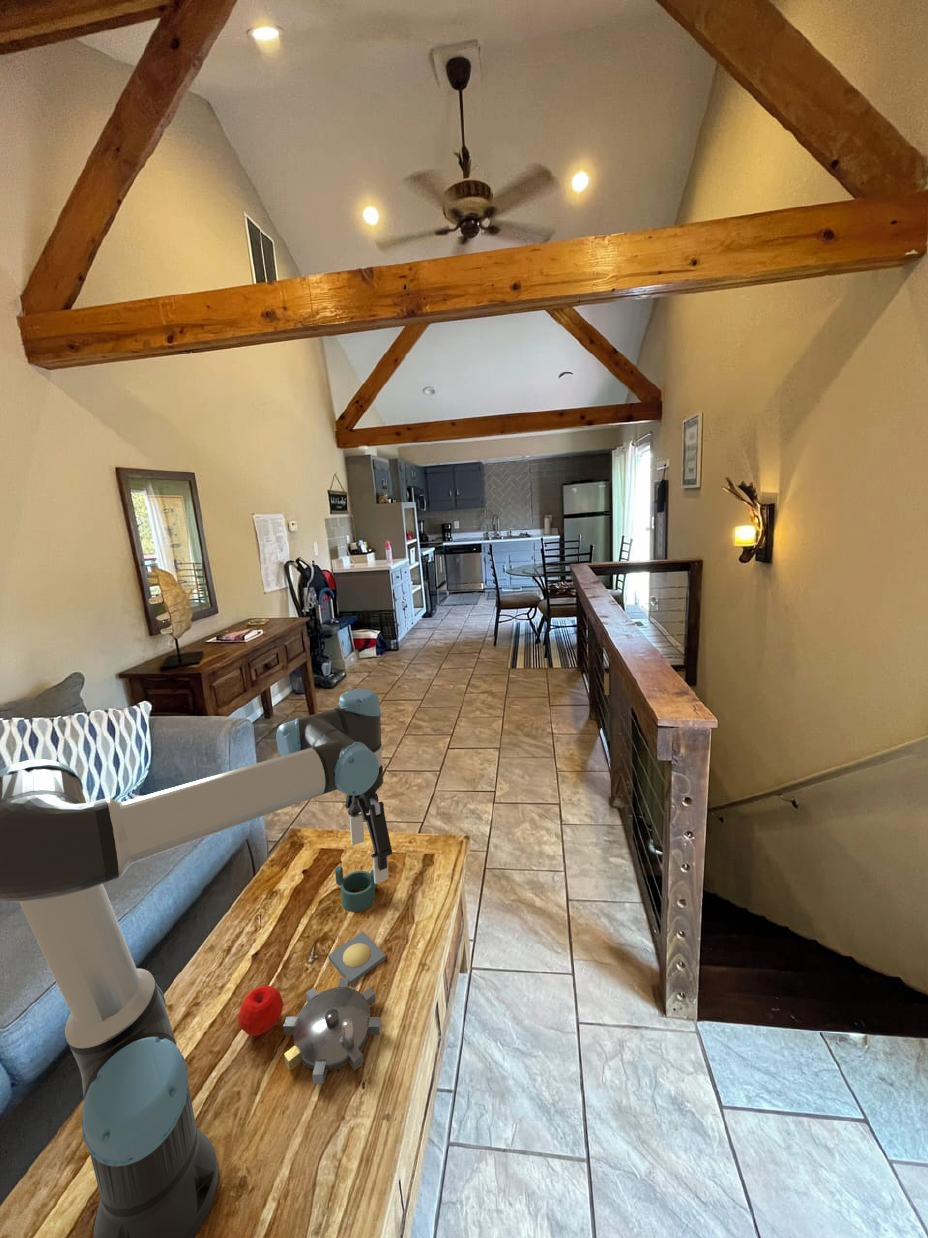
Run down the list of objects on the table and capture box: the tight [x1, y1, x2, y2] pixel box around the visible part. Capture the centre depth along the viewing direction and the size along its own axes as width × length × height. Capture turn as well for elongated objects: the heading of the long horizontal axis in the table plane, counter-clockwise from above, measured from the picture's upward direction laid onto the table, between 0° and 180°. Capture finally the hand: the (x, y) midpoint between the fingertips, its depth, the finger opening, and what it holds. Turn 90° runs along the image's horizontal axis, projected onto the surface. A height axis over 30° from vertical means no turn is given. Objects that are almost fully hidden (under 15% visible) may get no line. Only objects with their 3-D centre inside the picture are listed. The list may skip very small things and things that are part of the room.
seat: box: [327, 931, 387, 986], centre depth 111 cm, size 9×9×1 cm
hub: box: [325, 1009, 339, 1027], centre depth 95 cm, size 6×6×4 cm
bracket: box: [334, 866, 379, 913], centre depth 128 cm, size 9×9×9 cm
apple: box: [237, 985, 284, 1037], centre depth 96 cm, size 8×8×7 cm
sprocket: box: [282, 977, 382, 1085], centre depth 94 cm, size 18×18×7 cm
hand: (369, 860), depth 104 cm, fingers open, 13 cm apart
